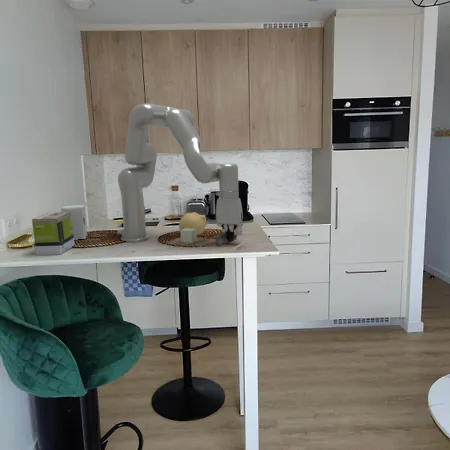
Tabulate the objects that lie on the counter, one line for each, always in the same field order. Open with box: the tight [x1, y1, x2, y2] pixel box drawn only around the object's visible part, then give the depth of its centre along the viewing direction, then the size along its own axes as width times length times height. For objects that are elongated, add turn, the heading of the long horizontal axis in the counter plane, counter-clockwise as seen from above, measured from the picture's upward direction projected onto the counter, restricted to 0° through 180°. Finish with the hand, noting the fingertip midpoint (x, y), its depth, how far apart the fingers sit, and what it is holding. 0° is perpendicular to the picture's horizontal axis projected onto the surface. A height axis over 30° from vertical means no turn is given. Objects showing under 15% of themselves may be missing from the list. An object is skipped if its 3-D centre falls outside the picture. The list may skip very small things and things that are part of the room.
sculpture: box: [178, 212, 207, 236], centre depth 193 cm, size 12×12×11 cm
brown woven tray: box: [165, 231, 229, 248], centre depth 176 cm, size 24×12×5 cm, turn 70°
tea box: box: [31, 211, 76, 256], centre depth 171 cm, size 15×10×15 cm, turn 178°
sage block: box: [179, 228, 198, 243], centre depth 177 cm, size 5×5×5 cm
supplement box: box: [61, 204, 88, 241], centre depth 193 cm, size 9×9×15 cm
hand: (230, 240), depth 171 cm, fingers closed
